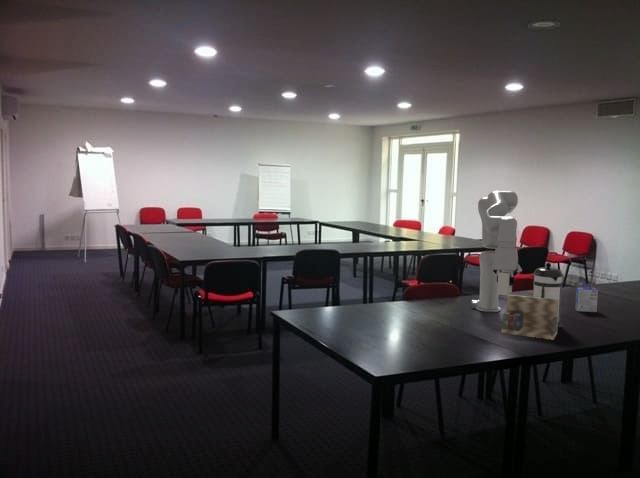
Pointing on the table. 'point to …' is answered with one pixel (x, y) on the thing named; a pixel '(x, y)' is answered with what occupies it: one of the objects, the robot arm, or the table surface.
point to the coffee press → (548, 284)
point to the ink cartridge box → (586, 299)
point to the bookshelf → (531, 317)
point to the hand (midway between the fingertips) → (505, 284)
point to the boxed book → (504, 283)
